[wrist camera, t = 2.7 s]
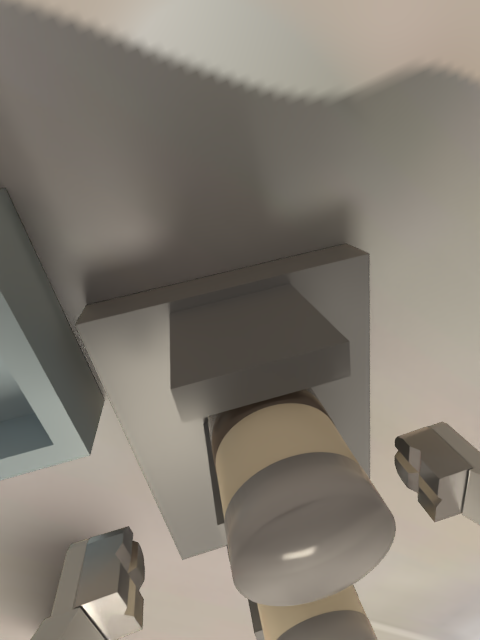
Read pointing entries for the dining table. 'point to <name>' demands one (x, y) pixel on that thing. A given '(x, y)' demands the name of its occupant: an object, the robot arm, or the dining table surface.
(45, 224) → the dining table surface
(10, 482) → the dining table surface
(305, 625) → the cylinder
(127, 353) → the fuse holder
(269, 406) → the cylinder
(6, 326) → the parts tray
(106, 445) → the dining table surface
